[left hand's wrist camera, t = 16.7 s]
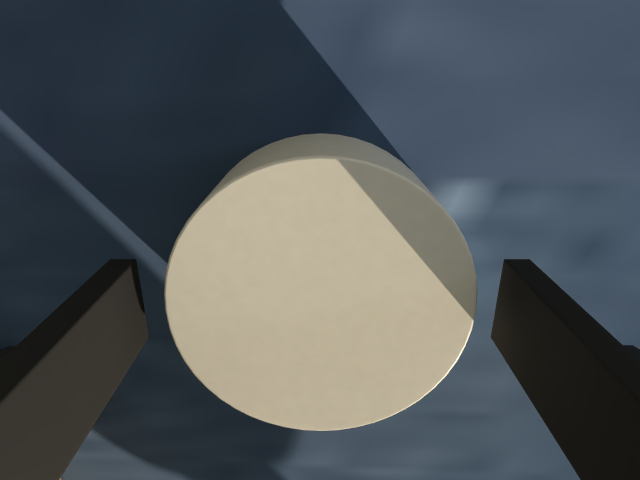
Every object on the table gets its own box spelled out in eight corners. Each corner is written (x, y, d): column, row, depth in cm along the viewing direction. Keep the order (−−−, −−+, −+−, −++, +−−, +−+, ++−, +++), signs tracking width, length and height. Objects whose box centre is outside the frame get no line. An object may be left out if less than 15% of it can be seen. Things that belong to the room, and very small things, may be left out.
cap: (454, 132, 15) (500, 155, 11) (429, 355, 18) (458, 431, 14) (186, 132, 15) (140, 155, 11) (211, 356, 18) (182, 431, 14)
